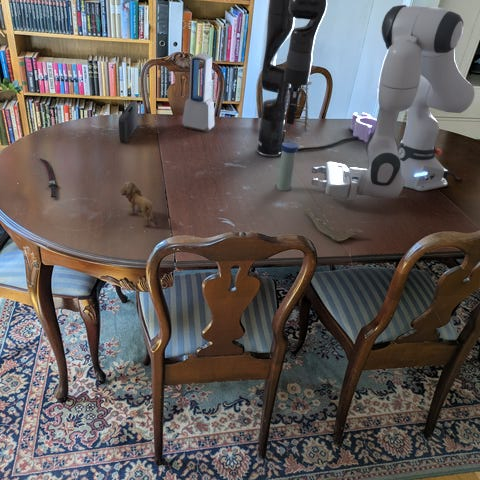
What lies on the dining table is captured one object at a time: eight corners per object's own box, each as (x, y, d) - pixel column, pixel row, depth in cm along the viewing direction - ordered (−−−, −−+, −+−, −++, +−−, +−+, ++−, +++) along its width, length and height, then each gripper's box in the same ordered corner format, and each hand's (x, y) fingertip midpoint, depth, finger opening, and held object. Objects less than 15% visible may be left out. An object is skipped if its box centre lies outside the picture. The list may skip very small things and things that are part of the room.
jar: (276, 183, 163) (282, 142, 155) (290, 185, 163) (297, 144, 155) (276, 189, 159) (282, 147, 151) (290, 191, 159) (297, 149, 151)
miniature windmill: (306, 131, 212) (318, 62, 195) (287, 128, 213) (298, 59, 196) (307, 125, 219) (319, 58, 203) (289, 122, 220) (300, 55, 204)
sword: (61, 197, 141) (61, 193, 140) (50, 198, 139) (50, 194, 139) (49, 160, 164) (48, 156, 163) (39, 160, 163) (39, 157, 162)
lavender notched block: (343, 126, 223) (346, 112, 219) (367, 127, 225) (371, 113, 221) (360, 142, 206) (364, 127, 202) (386, 142, 209) (390, 127, 205)
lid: (281, 145, 156) (282, 140, 155) (297, 147, 156) (298, 142, 155) (281, 151, 152) (281, 146, 151) (297, 153, 151) (298, 148, 150)
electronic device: (214, 128, 204) (219, 56, 188) (208, 133, 198) (212, 59, 182) (188, 122, 207) (190, 51, 191) (181, 127, 201) (183, 54, 185)
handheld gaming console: (132, 123, 199) (131, 100, 194) (138, 124, 200) (137, 100, 194) (118, 143, 180) (117, 117, 175) (125, 143, 180) (124, 118, 175)
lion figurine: (118, 210, 138) (116, 182, 133) (132, 204, 141) (131, 177, 137) (151, 229, 130) (150, 201, 126) (165, 223, 134) (165, 195, 129)
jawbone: (347, 249, 132) (348, 244, 131) (288, 222, 142) (289, 217, 141) (362, 236, 138) (364, 230, 136) (304, 210, 148) (305, 205, 147)
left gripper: (286, 60, 146) (279, 111, 154) (285, 70, 134) (277, 125, 142) (310, 63, 145) (301, 114, 154) (311, 73, 133) (301, 128, 142)
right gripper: (352, 160, 164) (313, 154, 164) (357, 185, 146) (313, 179, 147) (348, 176, 167) (310, 171, 168) (353, 202, 150) (310, 196, 151)
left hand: (290, 119), depth 148 cm, fingers open, 8 cm apart
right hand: (311, 175), depth 157 cm, fingers open, 8 cm apart
